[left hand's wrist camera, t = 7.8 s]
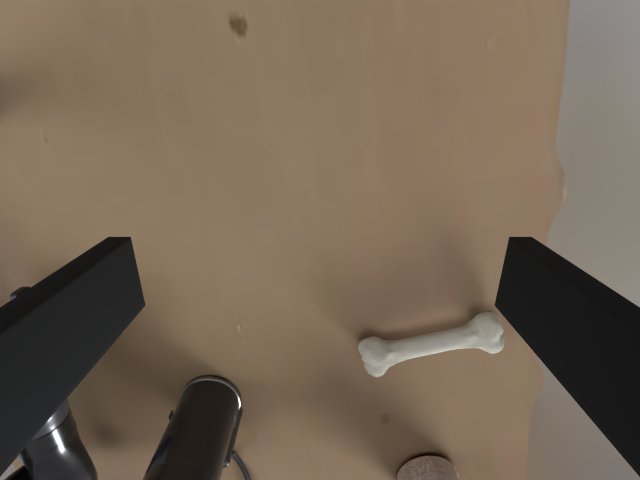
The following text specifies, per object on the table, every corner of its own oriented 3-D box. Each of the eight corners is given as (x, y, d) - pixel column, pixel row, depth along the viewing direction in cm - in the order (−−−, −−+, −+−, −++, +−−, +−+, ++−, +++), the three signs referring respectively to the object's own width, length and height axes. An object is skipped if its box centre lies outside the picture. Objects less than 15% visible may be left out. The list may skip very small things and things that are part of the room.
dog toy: (363, 363, 55) (367, 388, 50) (354, 332, 52) (358, 355, 48) (495, 335, 53) (512, 358, 48) (492, 301, 50) (509, 322, 46)
